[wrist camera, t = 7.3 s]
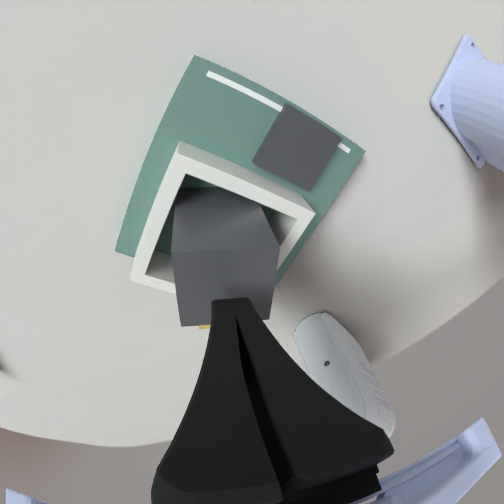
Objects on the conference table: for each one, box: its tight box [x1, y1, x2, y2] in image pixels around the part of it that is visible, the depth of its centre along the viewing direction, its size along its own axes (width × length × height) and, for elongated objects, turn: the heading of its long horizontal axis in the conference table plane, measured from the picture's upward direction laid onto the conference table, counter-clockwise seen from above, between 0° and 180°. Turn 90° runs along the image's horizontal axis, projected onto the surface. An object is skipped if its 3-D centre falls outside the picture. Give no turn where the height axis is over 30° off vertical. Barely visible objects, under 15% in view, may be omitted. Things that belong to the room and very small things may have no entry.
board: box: [115, 55, 365, 294], centre depth 15 cm, size 11×12×4 cm
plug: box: [171, 187, 280, 329], centre depth 14 cm, size 4×4×6 cm
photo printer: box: [294, 312, 396, 438], centre depth 22 cm, size 10×4×12 cm, turn 39°
